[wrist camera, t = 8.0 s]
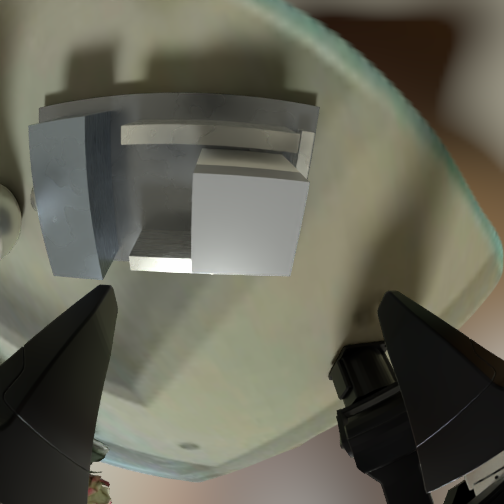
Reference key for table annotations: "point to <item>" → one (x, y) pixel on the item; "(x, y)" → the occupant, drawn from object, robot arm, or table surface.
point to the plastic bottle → (8, 221)
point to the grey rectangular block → (245, 213)
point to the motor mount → (144, 171)
